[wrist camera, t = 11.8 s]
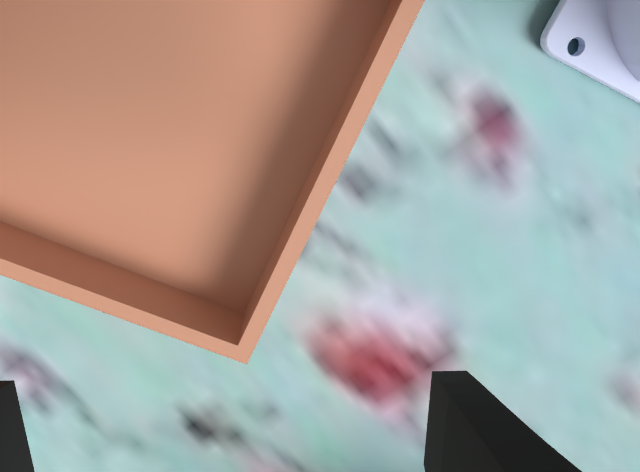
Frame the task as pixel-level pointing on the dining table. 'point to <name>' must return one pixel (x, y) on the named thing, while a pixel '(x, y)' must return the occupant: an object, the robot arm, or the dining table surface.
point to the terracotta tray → (180, 149)
